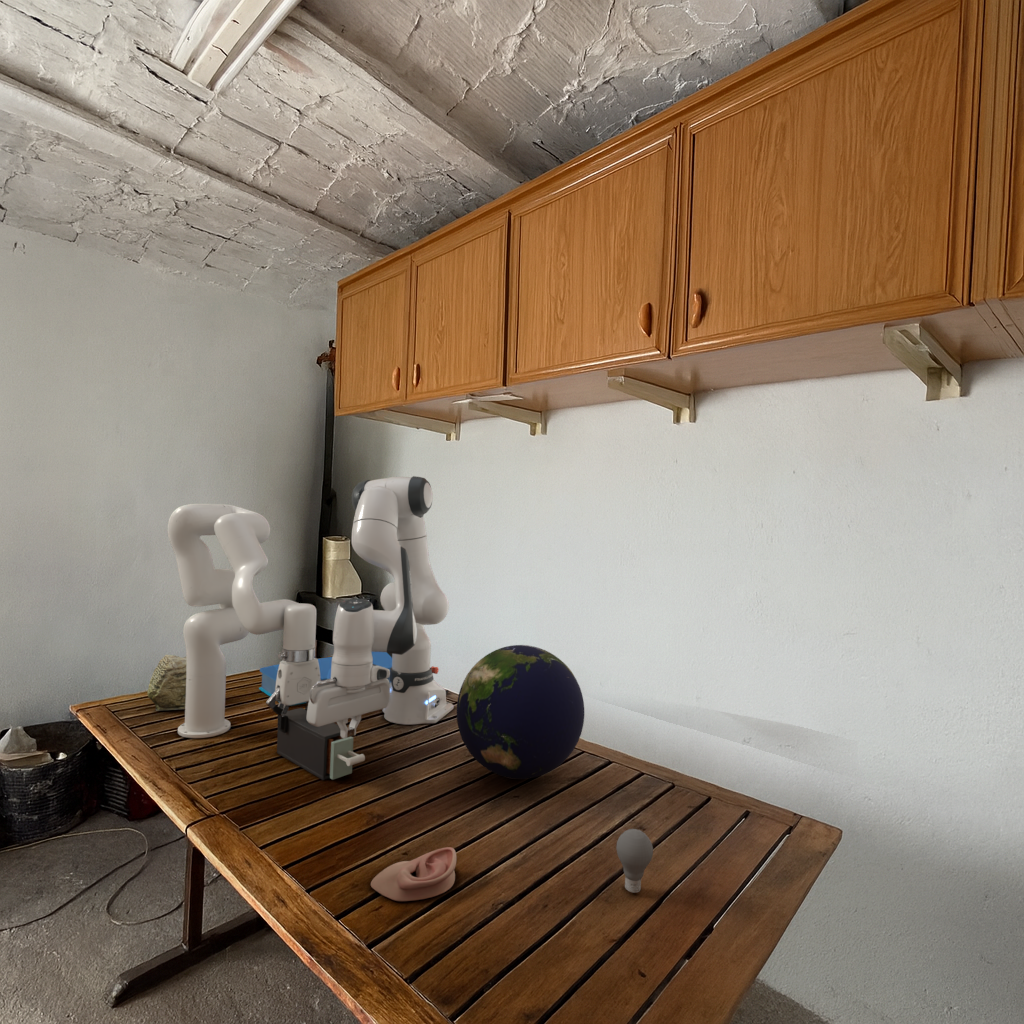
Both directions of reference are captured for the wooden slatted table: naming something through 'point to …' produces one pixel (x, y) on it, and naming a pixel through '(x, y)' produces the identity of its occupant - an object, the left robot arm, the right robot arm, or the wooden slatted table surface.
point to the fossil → (169, 683)
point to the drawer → (341, 757)
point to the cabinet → (306, 743)
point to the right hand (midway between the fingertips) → (348, 736)
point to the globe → (520, 712)
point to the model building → (325, 671)
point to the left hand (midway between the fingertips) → (296, 727)
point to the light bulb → (634, 857)
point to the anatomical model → (418, 876)
